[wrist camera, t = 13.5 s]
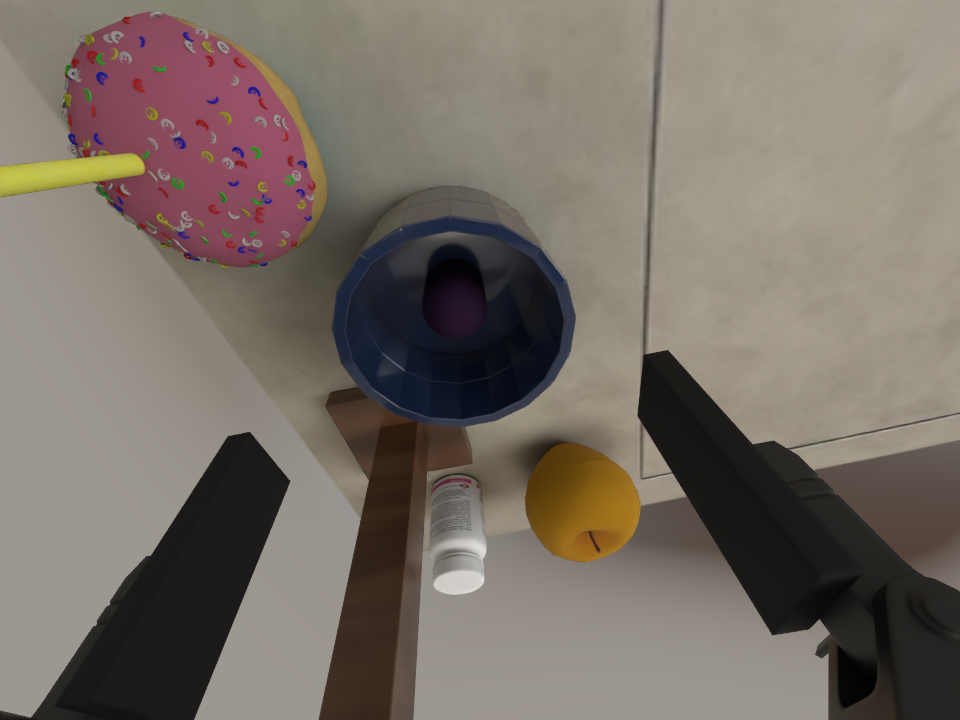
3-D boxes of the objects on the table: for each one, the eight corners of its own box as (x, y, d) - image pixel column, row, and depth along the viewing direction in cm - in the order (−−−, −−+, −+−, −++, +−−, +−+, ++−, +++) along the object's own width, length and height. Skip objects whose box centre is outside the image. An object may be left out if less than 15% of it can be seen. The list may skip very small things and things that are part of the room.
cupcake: (195, 231, 20) (-49, 350, 10) (121, 23, 15) (-479, -132, 5) (356, 240, 21) (274, 357, 11) (333, 47, 16) (156, -48, 6)
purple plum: (414, 272, 22) (406, 306, 18) (469, 248, 21) (473, 278, 17) (441, 320, 24) (438, 360, 20) (492, 300, 23) (499, 337, 19)
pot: (330, 210, 20) (283, 251, 14) (534, 165, 19) (571, 189, 14) (395, 369, 26) (380, 442, 21) (550, 339, 26) (579, 405, 20)
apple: (586, 490, 36) (621, 587, 29) (502, 481, 35) (517, 581, 27) (630, 428, 32) (685, 525, 24) (535, 412, 30) (565, 512, 22)
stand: (330, 392, 27) (17, 1151, 7) (447, 369, 27) (448, 1105, 7) (372, 468, 32) (255, 1032, 13) (471, 450, 32) (511, 1003, 12)
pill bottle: (421, 492, 35) (414, 587, 28) (453, 466, 33) (454, 561, 26) (459, 509, 37) (462, 602, 30) (491, 485, 35) (502, 578, 28)
